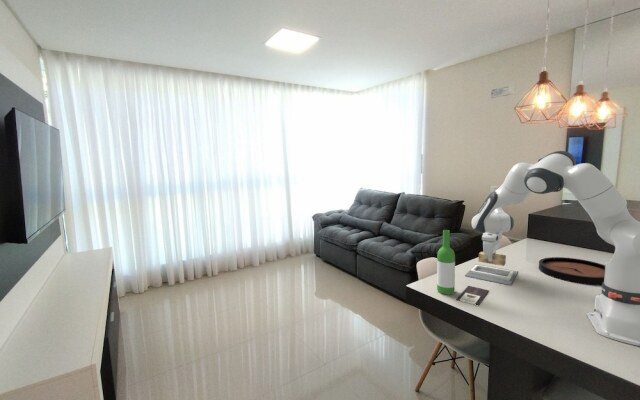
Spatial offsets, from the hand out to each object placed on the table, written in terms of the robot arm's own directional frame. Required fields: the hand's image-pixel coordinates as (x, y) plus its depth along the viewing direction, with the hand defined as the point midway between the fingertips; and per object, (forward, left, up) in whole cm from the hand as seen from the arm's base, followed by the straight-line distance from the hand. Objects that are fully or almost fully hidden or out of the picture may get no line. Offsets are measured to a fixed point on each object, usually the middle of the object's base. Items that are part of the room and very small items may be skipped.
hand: (491, 259), depth 160 cm
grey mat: (0, 0, -8) cm, 8 cm away
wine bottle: (-36, +12, -8) cm, 39 cm away
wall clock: (+26, -34, -9) cm, 44 cm away
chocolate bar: (-33, +1, -9) cm, 34 cm away
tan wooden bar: (0, 0, -2) cm, 2 cm away
